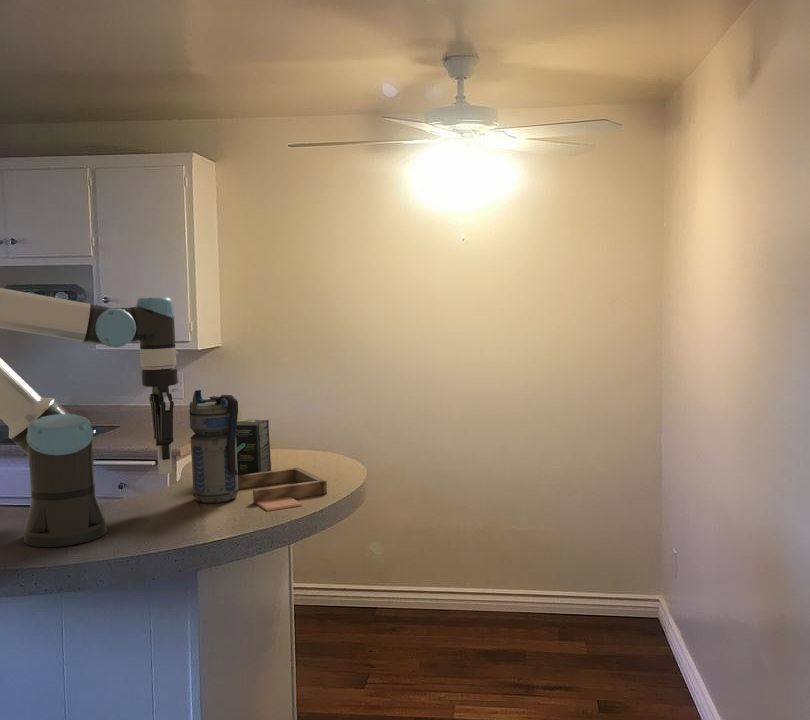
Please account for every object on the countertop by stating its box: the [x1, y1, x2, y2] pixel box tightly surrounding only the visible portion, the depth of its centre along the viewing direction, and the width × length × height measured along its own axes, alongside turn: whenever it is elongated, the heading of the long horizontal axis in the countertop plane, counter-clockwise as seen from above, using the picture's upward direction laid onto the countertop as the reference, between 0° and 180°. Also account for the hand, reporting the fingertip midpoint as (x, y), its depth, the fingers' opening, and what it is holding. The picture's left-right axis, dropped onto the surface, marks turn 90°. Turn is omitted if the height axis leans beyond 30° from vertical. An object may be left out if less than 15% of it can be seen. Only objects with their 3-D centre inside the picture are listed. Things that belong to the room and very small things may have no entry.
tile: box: [256, 497, 303, 512], centre depth 184 cm, size 8×8×1 cm
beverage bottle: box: [189, 389, 239, 504], centre depth 189 cm, size 10×13×25 cm
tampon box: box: [236, 419, 272, 475], centre depth 211 cm, size 11×9×15 cm
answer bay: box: [238, 467, 328, 505], centre depth 197 cm, size 17×18×3 cm
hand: (165, 473), depth 184 cm, fingers closed
